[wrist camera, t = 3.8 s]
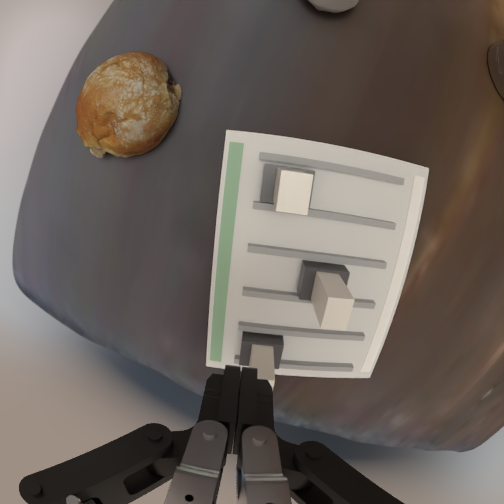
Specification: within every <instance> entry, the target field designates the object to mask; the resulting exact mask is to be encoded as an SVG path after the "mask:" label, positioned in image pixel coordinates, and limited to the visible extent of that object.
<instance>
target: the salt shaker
mask: <svg viewBox="0 0 504 504" xmlns="http://www.w3.org/2000/svg"><path fill="white" fill-rule="evenodd" d="M308 1H309V2H310V3H311V4H312V5H313V6H314V7H315V8H316V9H317V10H320V11H327V12H332V13H338V12H343V11H346V10H348V9H350V8H353V7H354V6H356V4H357V3H358V1H359V0H308Z"/></svg>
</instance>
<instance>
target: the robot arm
mask: <svg viewBox="0 0 504 504" xmlns="http://www.w3.org/2000/svg"><path fill="white" fill-rule="evenodd" d="M488 65H489V70H490V74H491V77H492V79H493V82H494V84H495V86H496V88H497V90H498V92H499V93H500V95H501V97H502V98H503V99H504V40H503V41H500V42H497V43H494V44H493V45H491V47H490V49H489V52H488ZM240 370H241V366H233V365H225V371H224V375H220V374H212V375H211V376H210V377H209V378H208V379H207V382H206V386H205V391H204V396H203V400H202V405H201V410H200V414H199V419H198V421H197V423H196V424H195V425H194V426H193V427H192V428H190V429H188V430H184V431H172V432H171V431H170V430H169V429H168V428H167V427H166V426H164V425H161V424H157V423H151V424H146V425H145V426H142V427H140V428H138V429H136V430H134V431H132V432H130V433H128V434H126V435H124V436H122V437H120V438H118V439H116V440H114V441H111V442H109V443H107V444H105V445H103V446H101V447H98V448H96V449H94V450H92V451H89V452H87V453H85V454H82V455H80V456H78V457H75V458H73V459H71V460H68V461H65V462H63V463H61V464H58V465H55V466H53V467H50V468H47V469H45V470H42V471H39V472H36V473H34V474H31V475H28V476H26V477H24V478H23V479H22V480H21V482H20V484H19V492H20V495H21V496H22V498H23V499H24V500H25V501H26V502H27V503H28V504H128V503H130V502H132V501H134V500H136V499H138V498H140V497H141V496H143V495H145V494H147V493H148V492H150V491H152V490H154V489H155V488H157V487H159V486H160V485H162V484H164V483H165V482H167V481H169V480H170V479H172V481H171V484H170V487H169V490H168V493H167V495H166V499H165V501H164V504H216V500H217V495H218V491H219V487H220V482H221V478H222V473H223V467H224V466H225V464H226V457H227V454H231V451H232V444H233V438H234V446H233V454H237V455H238V458H237V466H236V492H237V504H292V503H291V497H292V498H293V499H294V500H295V501H296V502H297V503H298V504H404V503H402V502H401V501H399V500H398V499H396V498H395V497H393V496H392V495H391V494H389V493H388V492H386V491H385V490H383V489H382V488H380V487H379V486H377V485H376V484H375V483H373V482H372V481H370V480H369V479H368V478H366V477H365V476H364V475H362V474H361V473H360V472H358V471H357V470H356V469H354V468H353V467H351V466H350V465H349V464H348V463H346V462H345V461H344V460H342V459H341V458H340V457H339V456H337V455H336V454H335V453H333V452H332V451H331V450H330V449H329V448H327V447H326V446H325V445H323V444H321V443H319V442H316V441H306V442H303V443H301V444H300V445H295V444H292V443H289V442H286V441H284V440H282V439H281V438H280V437H278V435H277V434H276V432H275V430H274V416H273V392H272V386H271V385H270V383H269V381H268V380H265V379H257V373H258V369H257V368H251V367H242V370H241V377H240ZM239 381H240V384H239ZM234 432H235V434H234Z"/></svg>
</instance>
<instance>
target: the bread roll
mask: <svg viewBox="0 0 504 504" xmlns="http://www.w3.org/2000/svg"><path fill="white" fill-rule="evenodd" d="M181 98H182V90H181V87H180V85H179V83H178V84H176V85H175V84H174V81H173V79H172V76H171V74H170V73H169V72H168V69H167V67H166V66H165V64H164V63H163V62H162V61H161V60H160V59H159V58H157V57H155V56H154V55H152V54H149V53H145V52H129V53H123V54H120V55H117V56H114V57H112V58H110V59H108V60H106V61H105V62H103V63H102V64H101V65H100V66H98V67H97V68H96V69H95V70H94V71H93V72H92V73H91V74H90V75H89V76H88V78H87V79H86V82H85V84H84V86H83V88H82V90H81V93H80V95H79V97H78V100H77V105H76V116H77V130H76V132H77V133H78V135H79V136H80V138H81V139H82V141H83V143H84V145H85V146H86V147H90V152H91V153H92V154H93V155H95V156H96V157H98V158H104V155H105V154H104V153H106V152H108V153H110V154H112V155H116V156H118V157H119V156H122V157H125V158H127V157H130V156H134V155H142V154H143V153H146V152H148V151H150V150H152V149H153V148H155V147H156V146H158V144H159V143H160V142H161V141H162V139H163V138H164V137H165V136H166V134H167V132H168V130H169V129H170V128H171V126H172V125H173V123H174V121H175V119H176V117H177V115H178V107H179V103H180V102H179V100H180V99H181Z"/></svg>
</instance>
